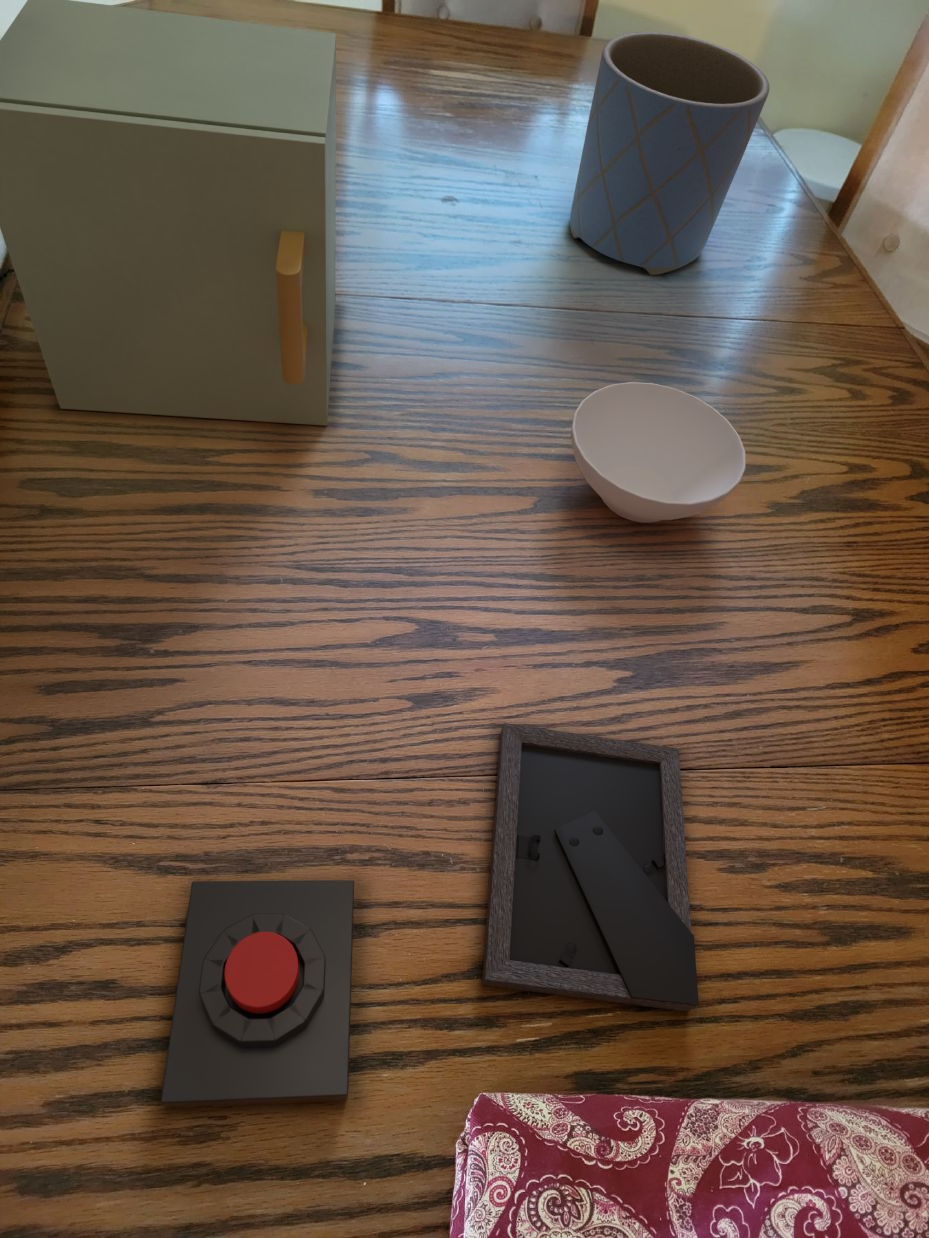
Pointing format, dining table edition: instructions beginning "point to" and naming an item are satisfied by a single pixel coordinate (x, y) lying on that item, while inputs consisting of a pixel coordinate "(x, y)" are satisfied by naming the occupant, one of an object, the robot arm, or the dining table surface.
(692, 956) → the picture frame
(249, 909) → the switch block
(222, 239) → the cabinet door
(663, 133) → the planter
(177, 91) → the cabinet
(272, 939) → the button
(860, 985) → the dining table surface
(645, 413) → the bowl
